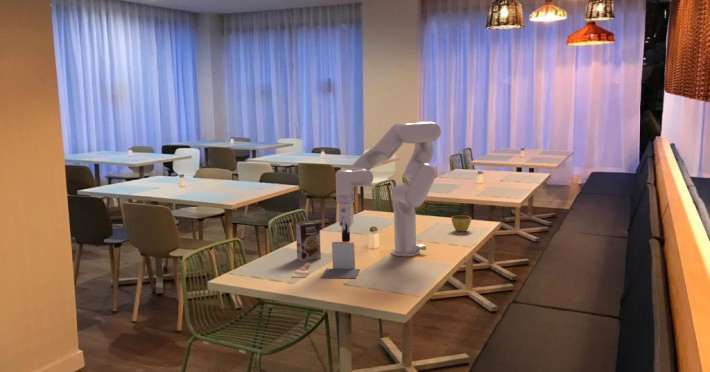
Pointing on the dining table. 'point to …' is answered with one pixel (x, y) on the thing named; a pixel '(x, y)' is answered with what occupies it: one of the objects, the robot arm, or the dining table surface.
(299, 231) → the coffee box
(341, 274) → the charcoal mat
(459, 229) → the flower pot
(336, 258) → the pale grey upright block
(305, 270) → the beech turner
